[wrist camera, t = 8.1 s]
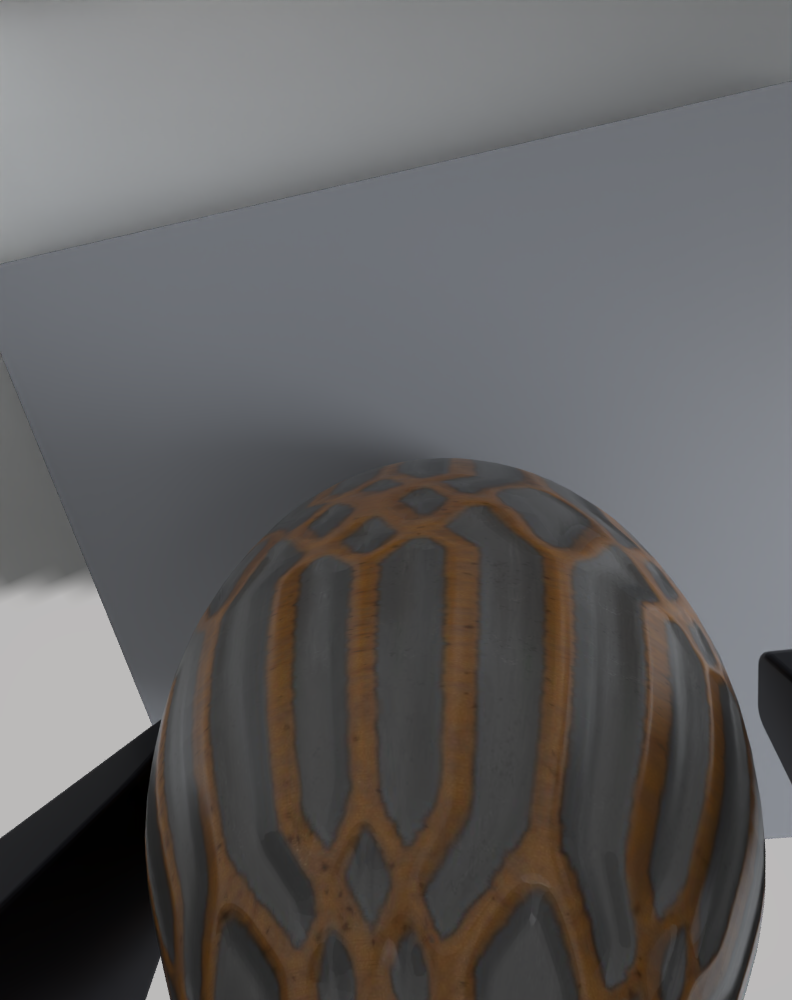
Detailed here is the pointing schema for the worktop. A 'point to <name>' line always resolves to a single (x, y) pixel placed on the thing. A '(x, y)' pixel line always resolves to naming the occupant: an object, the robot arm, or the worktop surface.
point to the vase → (453, 761)
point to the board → (441, 367)
